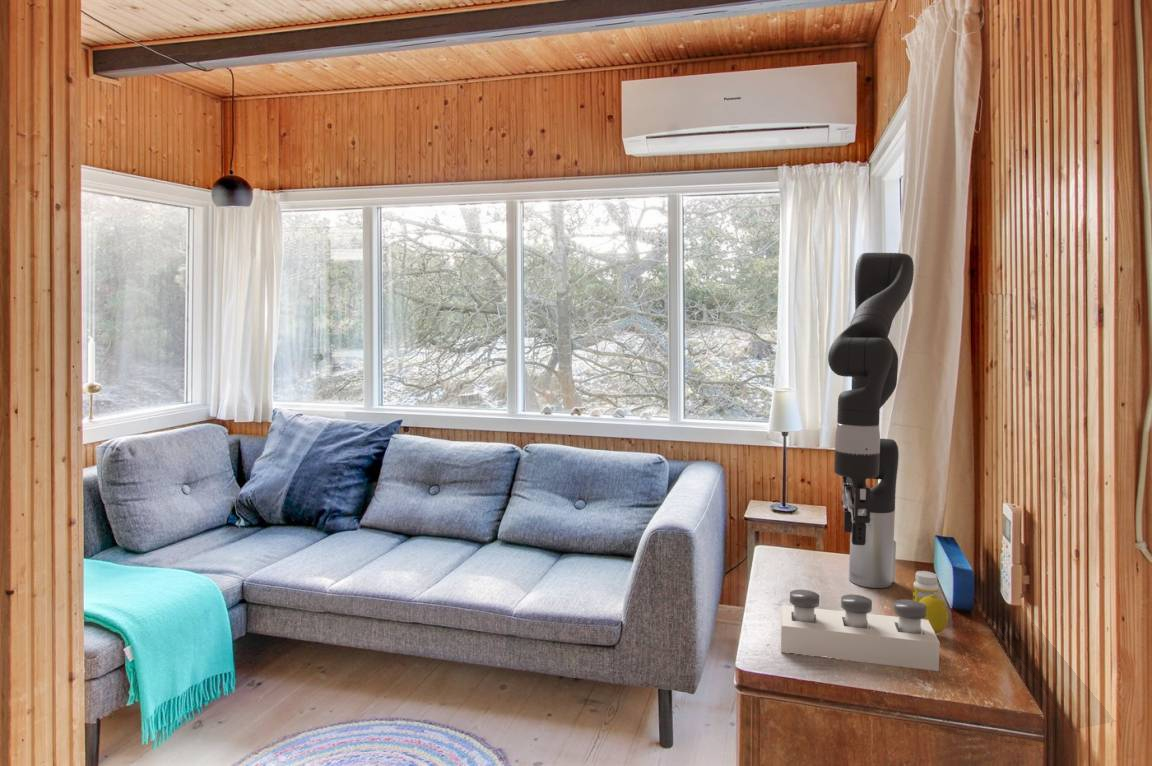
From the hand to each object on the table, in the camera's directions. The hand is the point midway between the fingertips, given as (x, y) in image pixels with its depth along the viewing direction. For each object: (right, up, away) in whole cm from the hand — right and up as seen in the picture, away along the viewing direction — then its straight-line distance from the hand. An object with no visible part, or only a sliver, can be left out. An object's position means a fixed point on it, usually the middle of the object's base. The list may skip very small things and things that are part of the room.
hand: (854, 538), depth 132 cm
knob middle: (+1, -17, +1) cm, 17 cm away
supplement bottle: (+21, -20, +18) cm, 34 cm away
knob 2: (+9, -17, -1) cm, 19 cm away
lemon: (+17, -20, +7) cm, 28 cm away
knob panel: (+1, -21, +1) cm, 21 cm away
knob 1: (-8, -17, +3) cm, 19 cm away
